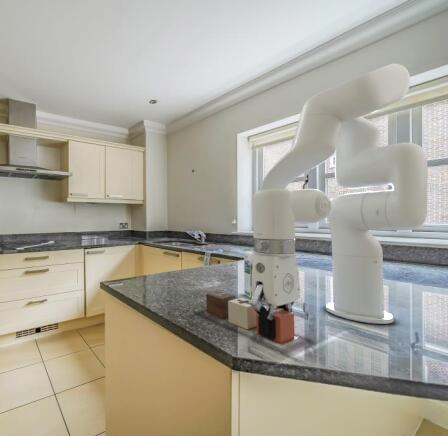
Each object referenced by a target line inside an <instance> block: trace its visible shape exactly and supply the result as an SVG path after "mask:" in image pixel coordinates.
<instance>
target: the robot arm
mask: <svg viewBox="0 0 448 436" xmlns="http://www.w3.org/2000/svg"><path fill="white" fill-rule="evenodd" d="M410 85H411V75H410V72H409V70H408V69H407V68H406V66H404V65H403V64H400V63H388V64H387V65H384V66H381V67H379V68H376V69H373V70H371V71H367V72H365V73H362V74H359V75H357V76H354V77H352V78H349V79H346V80H345V81H343V82H340V83H337V84H336V85H333V86H331V87H328V88H326V89H324V90H321V91H320V92H317V93H316V94H313V95H312V96H310V98H308V99H306V101H305V103H304V104H303V106H302V108H301V112H300V115H299V118H298V122H297V125H296V129H295V133H294V136H293V139H292V142H291V146H290V148H289V150H288V151H287V152H286V153H285V154H283V155H282V156H281V158H280V159H278V160H277V162H276V163H275V164H274V165H272V167H271V168H270V170H269V171H268V172H267V173H266V174H265V176H264V178H263V180H262V182H261V184H260V187H259V190H257V191H255V193H254V194H253V196H252V228H253V230H252V231H253V232H252V233H253V235H252V236H253V251H254V258H253V266H252V298H251V301H250V305H251V306H252V307H253V308H254V309H255V311H256V312H257V313H256V314H257V316H258V330H259V334H260V335H262V336H265V337H267V338H269V339H272V340H274V339H275V320H274V319H273V314H274V308H278V309H280V308H281V309H284V310H285V311H288V312H291V313H293V305H294V303H295V302H297V301H298V300H300V298H301V289H300V288H301V285H300V274H299V265H298V260H297V256H296V225H297V224H300V225H301V224H316V223H319V222H322V221H323V220H325V219H326V218H327V223H328V225H329V231H330V239H331V269H332V270H331V271H332V272H331V273H332V302H328V303H326V304H325V310H326V311H327V312H328V313H330V314H332V315H335V316H337V317H339V318H344V319H347V320H351V321H355V322H361V323H367V324H376V325H377V324H378V325H387V324H392V323H394V318H395V317H394V316H393V314H391V313H390V312H387V311H385V300H384V299H385V297H384V296H385V295H384V294H385V293H384V292H385V291H384V290H385V289H384V258H383V257H384V255H383V253H384V252H383V247H382V245H381V243H380V242H379V240H378V239H377V238H376V237H375V236H374V235H373V234H372V233H371V232H370V231H412V230H417V229H419V228H420V227H422V226H423V225H424V224H425V222H426V219H427V215H428V214H427V213H428V175H429V174H428V173H429V172H428V170H429V169H428V159H427V155H426V153H425V151H424V149H423V148H422V147H421V146H420V145H419V144H417V143H414V142H407V141H405V142H397V143H392V144H387V145H383V146H381V130H380V127H379V126H378V125H377V124H376V123H374V122H373V121H371V120H369V119H367V118H365V117H363V116H367V115H369V114H373V113H376V112H378V111H381V110H383V109H386V108H387V107H390V106H392V105H393V104H396V103H397V102H399V101H401V100H402V99H403V98H404V97H405V95H406V94H407V93H408V91H409V89H410ZM334 154H335V160H334V161H335V162H334V164H335V165H334V177H335V182H336V184H337V185H338V186H339V187H340V188H343V189H364V188H365V189H366V188H374V187H384V186H391V187H392V189H386V190H375V191H361V192H350V193H344V194H340V195H336V196H335V197H332V198H330V196H329V195H328V194H327V193H326V192H324V191H322V190H320V189H316V188H302V189H294V190H293V189H292V190H291V189H289V188H288V187H289V186H290V184H291V183H292V182H294V180H296V179H298V178H299V177H300V176H302V175H303V174H306V173H307V172H309V171H311V170H313V169H315V168H317V167H319V166H321V165H322V164H323V163H325V162H327V161H328V160H329V159H331V158H332V157H333V156H334ZM265 300H266V301H265ZM265 306H266V307H268V311H267V309H266V308H265ZM260 335H259V336H260ZM262 336H261V337H262ZM267 338H266V339H267ZM269 339H268V340H269ZM272 340H271V341H272Z"/></svg>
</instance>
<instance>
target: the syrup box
mask: <svg viewBox="0 0 448 436" xmlns="http://www.w3.org/2000/svg"><path fill="white" fill-rule="evenodd" d="M253 258H254V250H249V251H244V252H243V274H244V275H243V289H244V290H243V291H244V293H243V294H244V296H247V297H249V298H251V299H252V266H253Z"/></svg>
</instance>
